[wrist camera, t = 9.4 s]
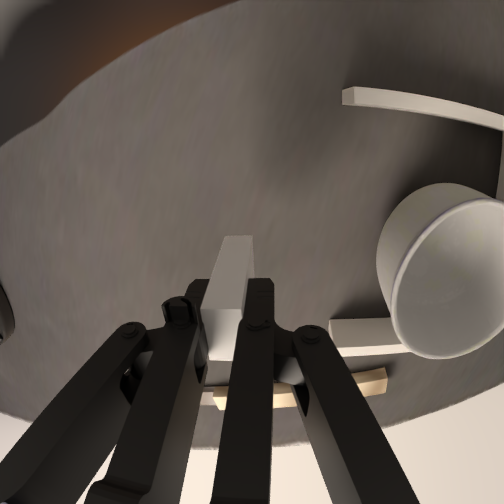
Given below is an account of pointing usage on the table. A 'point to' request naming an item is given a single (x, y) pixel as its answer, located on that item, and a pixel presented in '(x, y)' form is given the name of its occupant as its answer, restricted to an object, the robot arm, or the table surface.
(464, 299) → the teacup
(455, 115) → the tray
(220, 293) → the robot arm
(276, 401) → the birch bar
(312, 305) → the table surface
